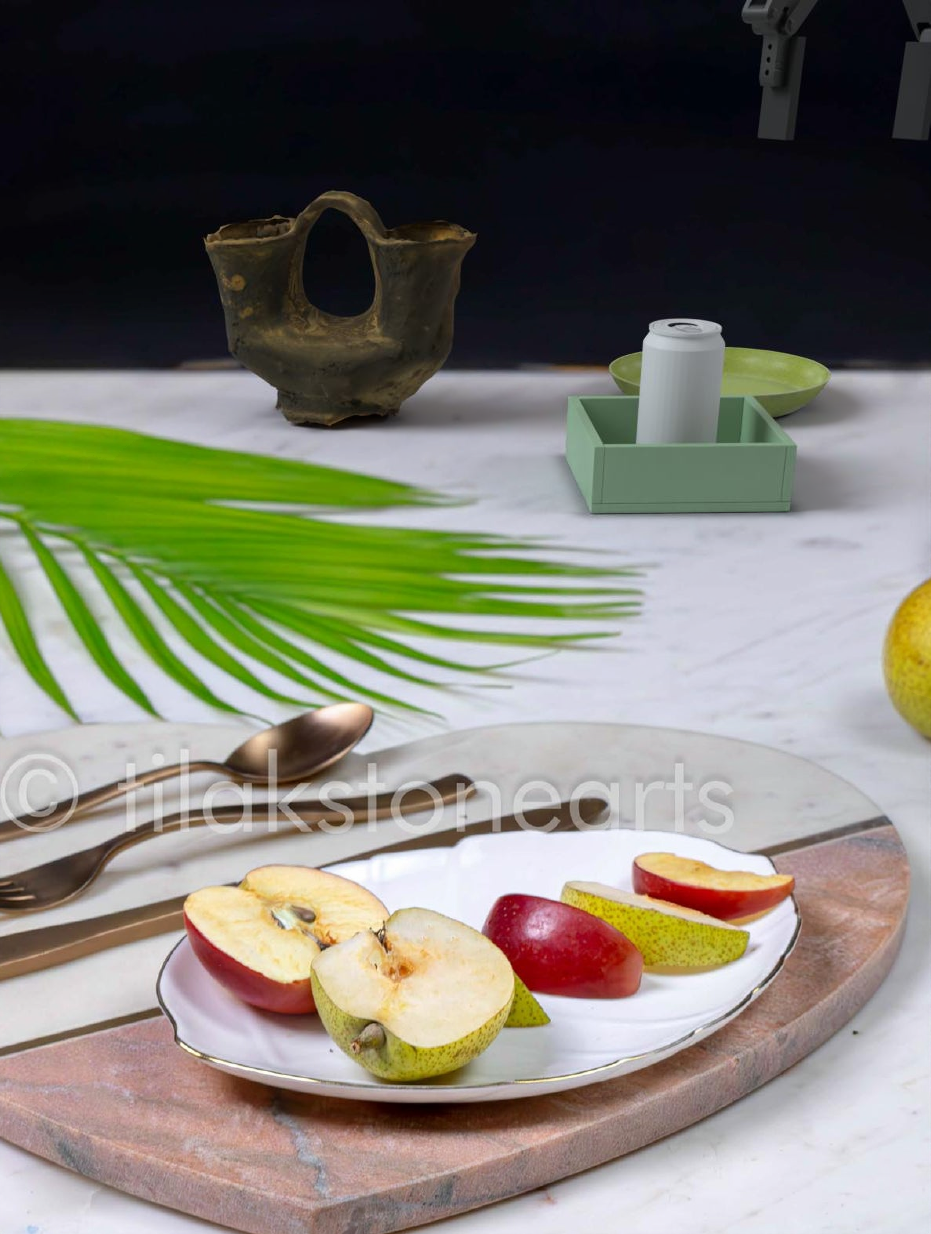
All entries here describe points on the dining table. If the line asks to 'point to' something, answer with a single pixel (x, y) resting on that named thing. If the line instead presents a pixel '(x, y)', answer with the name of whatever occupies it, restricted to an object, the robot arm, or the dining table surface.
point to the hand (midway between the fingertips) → (844, 139)
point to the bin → (679, 460)
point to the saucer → (748, 377)
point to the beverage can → (680, 382)
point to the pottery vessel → (331, 345)
